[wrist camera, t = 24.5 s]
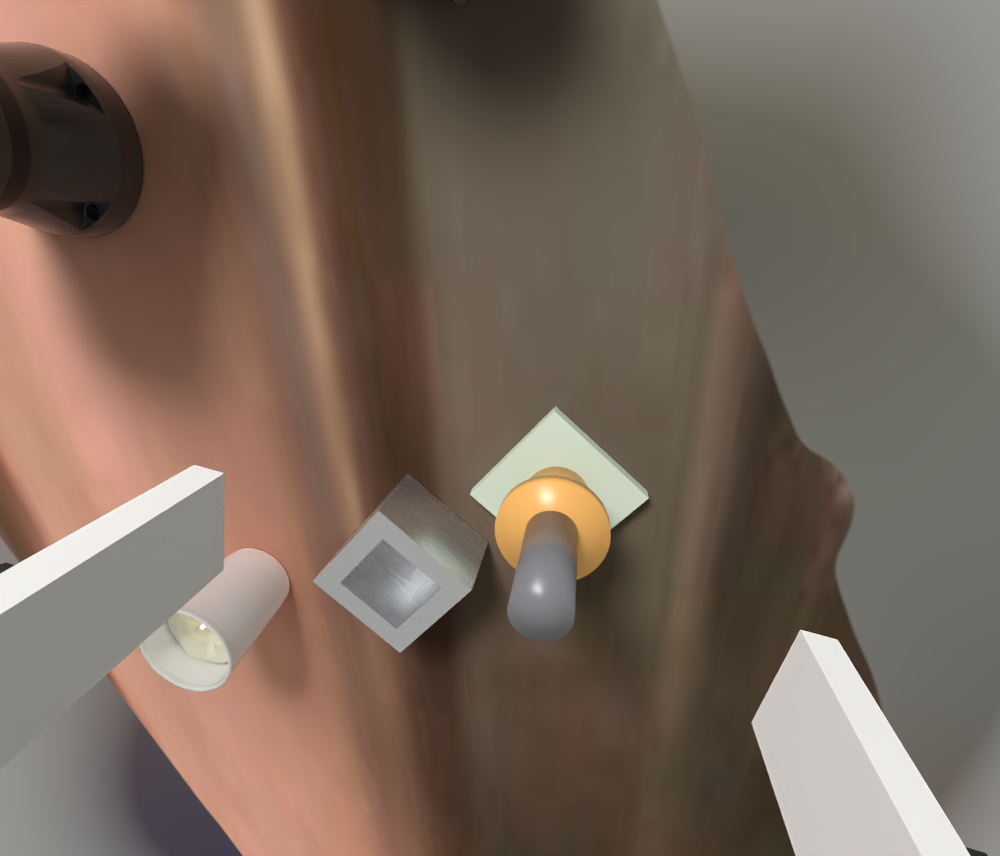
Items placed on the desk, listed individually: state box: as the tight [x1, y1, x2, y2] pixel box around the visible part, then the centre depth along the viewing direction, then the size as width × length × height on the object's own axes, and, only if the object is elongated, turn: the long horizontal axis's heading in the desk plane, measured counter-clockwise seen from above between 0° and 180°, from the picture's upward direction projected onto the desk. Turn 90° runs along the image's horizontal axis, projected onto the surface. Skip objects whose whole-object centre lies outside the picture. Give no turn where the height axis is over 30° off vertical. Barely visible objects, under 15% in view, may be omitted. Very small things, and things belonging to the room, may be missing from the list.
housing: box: [313, 473, 488, 653], centre depth 52 cm, size 11×11×8 cm
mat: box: [470, 407, 649, 530], centre depth 50 cm, size 12×12×2 cm
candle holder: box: [139, 548, 290, 691], centre depth 56 cm, size 10×10×12 cm
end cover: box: [495, 467, 611, 642], centre depth 42 cm, size 10×10×17 cm
